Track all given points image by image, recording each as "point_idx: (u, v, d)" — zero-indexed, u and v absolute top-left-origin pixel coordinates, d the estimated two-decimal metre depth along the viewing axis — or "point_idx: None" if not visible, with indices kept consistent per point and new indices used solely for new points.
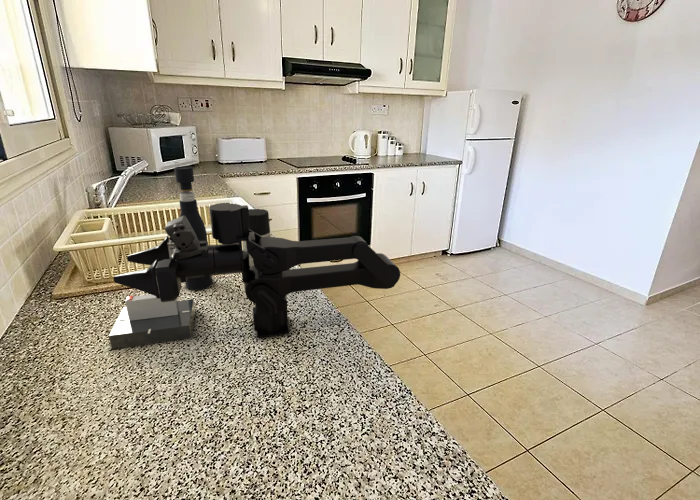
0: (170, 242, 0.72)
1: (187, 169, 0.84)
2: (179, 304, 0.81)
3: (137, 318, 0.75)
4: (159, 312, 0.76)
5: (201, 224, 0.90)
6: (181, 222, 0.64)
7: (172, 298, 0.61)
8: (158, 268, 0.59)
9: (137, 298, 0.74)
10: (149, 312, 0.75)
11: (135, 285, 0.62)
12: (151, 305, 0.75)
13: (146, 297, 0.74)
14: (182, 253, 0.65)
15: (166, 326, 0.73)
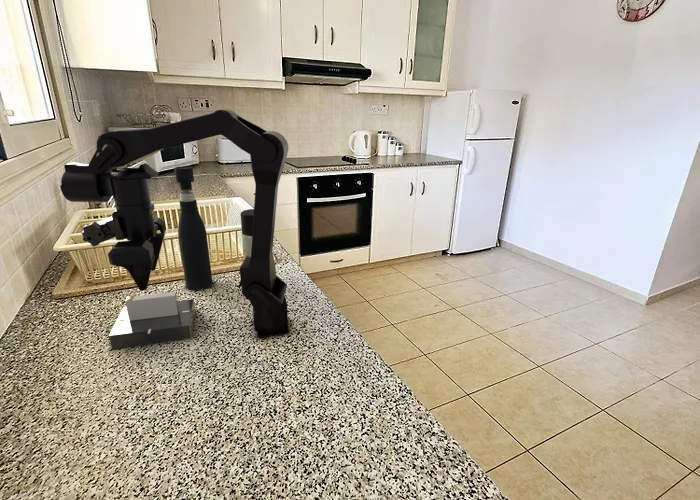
0: None
1: (187, 169, 0.84)
2: (179, 304, 0.81)
3: (137, 318, 0.75)
4: (159, 312, 0.76)
5: (201, 224, 0.90)
6: None
7: (143, 252, 0.62)
8: (110, 262, 0.62)
9: (137, 298, 0.74)
10: (149, 312, 0.75)
11: (145, 276, 0.67)
12: (151, 305, 0.75)
13: (146, 297, 0.74)
14: (116, 234, 0.66)
15: (166, 326, 0.73)
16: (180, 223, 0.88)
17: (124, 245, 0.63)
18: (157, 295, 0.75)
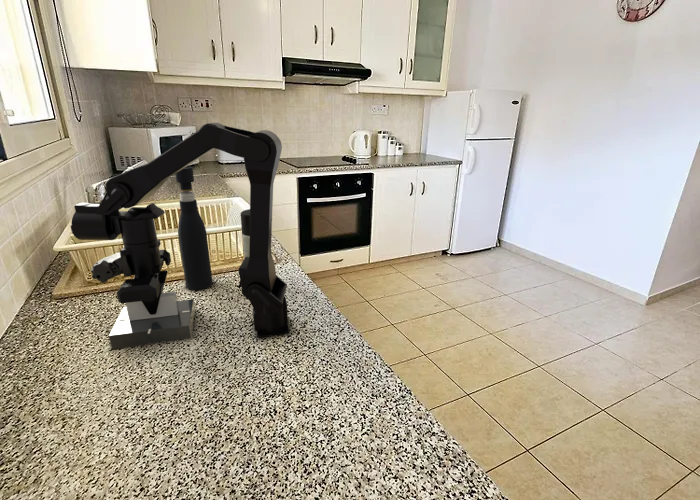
0: None
1: (187, 169, 0.84)
2: (179, 304, 0.81)
3: (137, 318, 0.75)
4: (159, 312, 0.76)
5: (201, 224, 0.90)
6: None
7: (150, 291, 0.65)
8: (118, 300, 0.65)
9: None
10: None
11: (155, 301, 0.73)
12: None
13: None
14: (124, 271, 0.69)
15: (166, 326, 0.73)
16: (180, 223, 0.88)
17: (132, 284, 0.65)
18: None
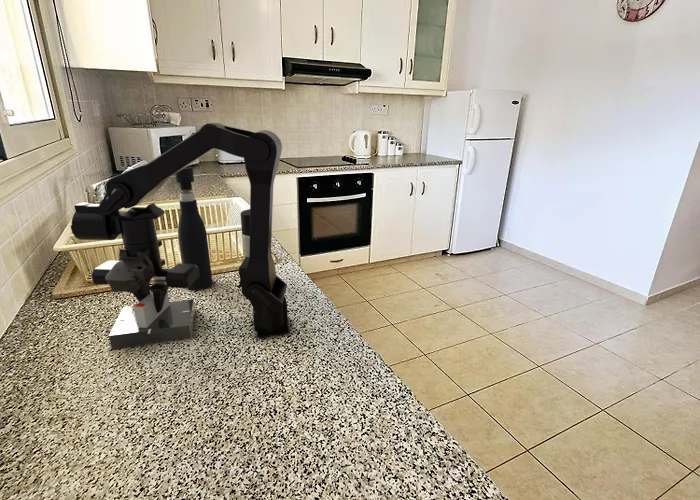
0: None
1: (187, 169, 0.84)
2: (179, 304, 0.81)
3: (150, 322, 0.73)
4: None
5: (201, 224, 0.90)
6: (128, 280, 0.64)
7: (198, 268, 0.75)
8: (184, 286, 0.70)
9: (147, 302, 0.73)
10: (156, 311, 0.75)
11: (164, 295, 0.76)
12: None
13: (150, 298, 0.74)
14: None
15: (166, 326, 0.73)
16: (180, 223, 0.88)
17: (182, 269, 0.71)
18: None
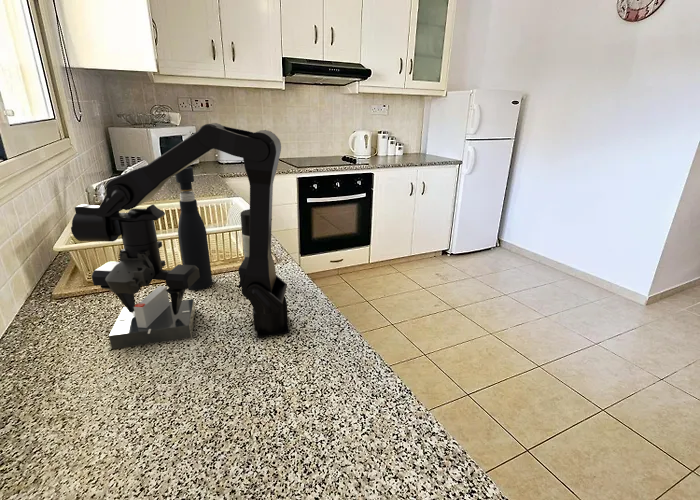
0: None
1: (187, 169, 0.84)
2: None
3: (150, 322, 0.73)
4: (161, 308, 0.77)
5: (201, 224, 0.90)
6: (128, 282, 0.64)
7: (198, 269, 0.75)
8: (184, 287, 0.70)
9: (147, 302, 0.73)
10: (156, 311, 0.75)
11: (181, 297, 0.76)
12: (156, 303, 0.75)
13: (150, 298, 0.74)
14: None
15: (166, 326, 0.73)
16: (180, 223, 0.88)
17: (182, 270, 0.72)
18: (154, 293, 0.76)
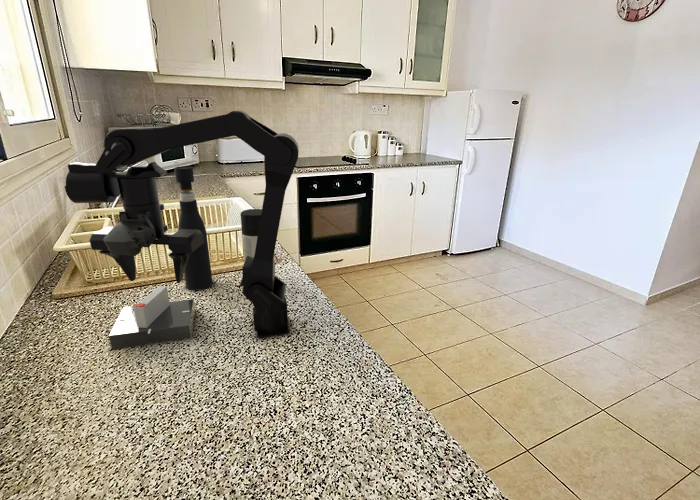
0: None
1: (187, 169, 0.84)
2: (179, 304, 0.81)
3: (150, 322, 0.73)
4: (161, 308, 0.77)
5: (201, 224, 0.90)
6: (128, 242, 0.60)
7: (202, 234, 0.70)
8: (188, 251, 0.66)
9: (147, 302, 0.73)
10: (156, 311, 0.75)
11: (185, 264, 0.71)
12: (156, 303, 0.75)
13: (150, 298, 0.74)
14: None
15: (166, 326, 0.73)
16: (180, 223, 0.88)
17: (185, 234, 0.67)
18: (154, 293, 0.76)
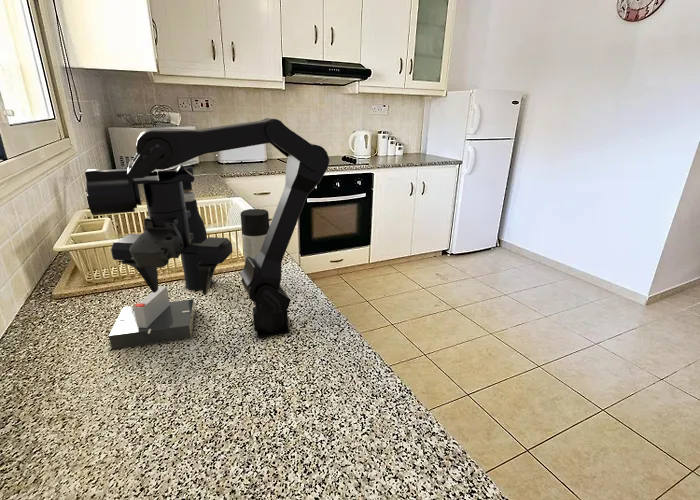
0: None
1: (187, 169, 0.84)
2: (179, 304, 0.81)
3: (150, 322, 0.73)
4: (161, 308, 0.77)
5: (201, 224, 0.90)
6: (156, 253, 0.55)
7: (231, 243, 0.66)
8: (217, 261, 0.61)
9: (147, 302, 0.73)
10: (156, 311, 0.75)
11: (211, 275, 0.67)
12: (156, 303, 0.75)
13: (150, 298, 0.74)
14: None
15: (166, 326, 0.73)
16: None
17: (215, 243, 0.62)
18: (154, 293, 0.76)
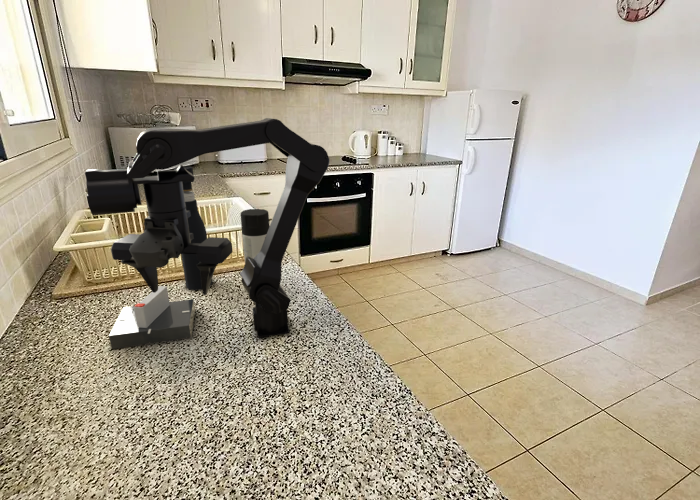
0: None
1: (187, 169, 0.84)
2: (179, 304, 0.81)
3: (150, 322, 0.73)
4: (161, 308, 0.77)
5: (201, 224, 0.90)
6: (156, 253, 0.55)
7: (231, 243, 0.66)
8: (218, 261, 0.61)
9: (147, 302, 0.73)
10: (156, 311, 0.75)
11: (211, 275, 0.67)
12: (156, 303, 0.75)
13: (150, 298, 0.74)
14: None
15: (166, 326, 0.73)
16: None
17: (215, 243, 0.62)
18: (154, 293, 0.76)
